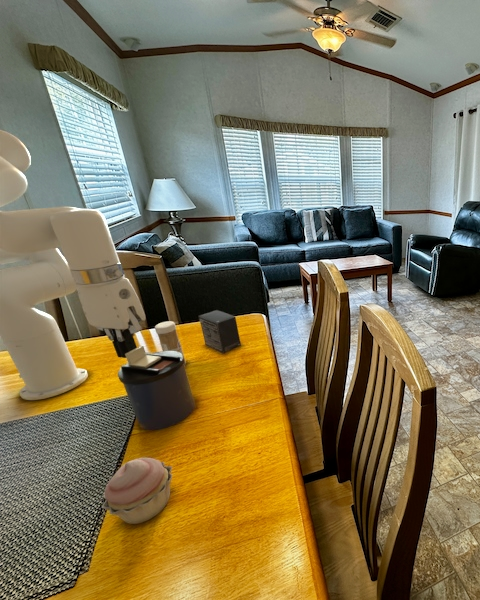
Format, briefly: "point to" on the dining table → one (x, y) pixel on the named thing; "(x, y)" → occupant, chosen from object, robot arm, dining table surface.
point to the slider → (140, 358)
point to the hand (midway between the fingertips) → (128, 354)
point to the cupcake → (138, 490)
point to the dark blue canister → (159, 391)
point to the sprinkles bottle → (169, 337)
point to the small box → (220, 331)
